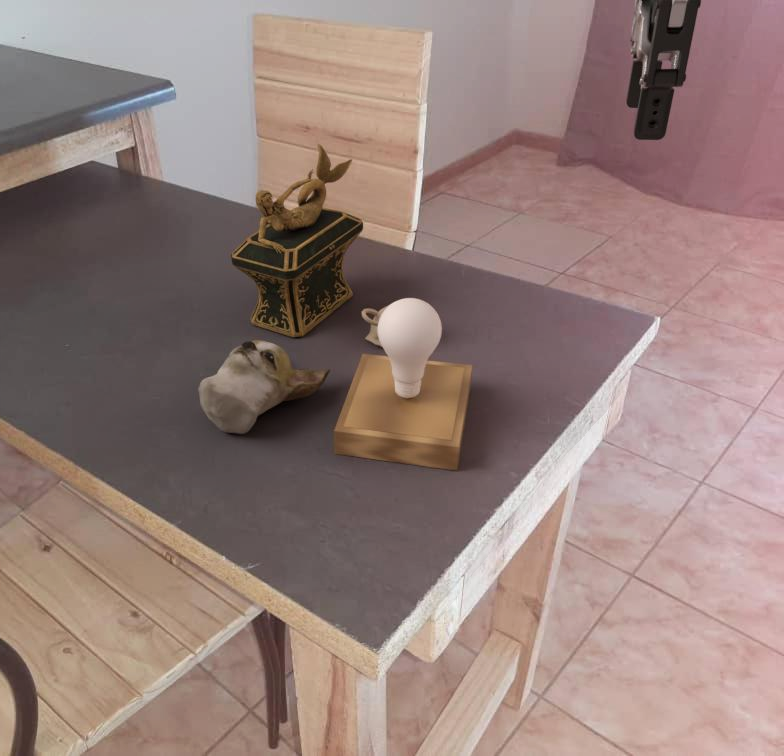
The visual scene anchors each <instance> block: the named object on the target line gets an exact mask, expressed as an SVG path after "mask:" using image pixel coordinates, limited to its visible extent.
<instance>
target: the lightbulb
mask: <svg viewBox="0 0 784 756" xmlns="http://www.w3.org/2000/svg"><path fill="white" fill-rule="evenodd" d="M388 305H389V306H388ZM388 305H387V306H388V307H387V308H386V309H385V310H384V312H383V313H382V315H381V317H380V319H379V323H378V327H377V333H378V338H379V341H380V343H381V345H382V347H381V348H382V349H383V351H384V353H385V354H386V356H389V359H390V361H391V365H392V374H393V377H394V380H395V382H394V383H395V392H396V393H397V394H398V395H399V396H401V397H404V398H412V397H415V396H416V395H418V394H419V392H420V386H421V378H422V377H423V375H424V369H425V365H426V362H427V361H429V357H431V355H432V354H433V353H434V352H435V350H436V348H437V346H438V345H439V344H440V341H441V338H442V333H443V326H442V321H441V317H440V316H439V314H438V312H437V311H436V309H435V308H434V307H433V306H432V305H431V304H429V303H428V302H427V301H424V300H422V299H420V298H415V297H405V298H401V299H398V300H396V301H393V302H392V303H390V304H388Z"/></svg>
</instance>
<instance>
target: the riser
mask: <svg viewBox="0 0 784 756" xmlns="http://www.w3.org/2000/svg"><path fill="white" fill-rule="evenodd" d="M472 377H473V364H464V363H458V362H457V363H455V362H448V361H447V362H445V361H437V360H427V362H426V365H425V369H424V375H423V377H422V378H421V386H420V392H419V394H418V395H416V396H415V397H412V398H404V397H401V396H399V395H398V394H397V393H396V392H395V383H394V382H395V380H394V377H393V374H392V365H391V361H390V359H389V356H388V355H380V354H379V355H378V354H368V353H362V354H361V357H360V360H359V362H358V365H357V368H356V370H355V373H354V376H353V379H352V381H351V383H350V386H349V389H348V392H347V395H346V397H345V400H344V402H343V405H342V408H341V410H340V413H339V416H338V418H337V422H336V424H335V427H334V430H333V444H334V445H333V447H334V455H340V456H347V457H348V456H349V457H354V458H362V459H369V460H375V461H376V460H377V461H385V462H391V463H397V464H405V465H413V466H420V467H427V468H433V469H434V468H435V469H441V470H449V471H458V470H459V464H460V463H459V462H460V457H461V450H462V444H463V437H464V432H465V425H466V418H467V413H468V406H469V401H470V400H469V399H470V394H471V387H472Z"/></svg>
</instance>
